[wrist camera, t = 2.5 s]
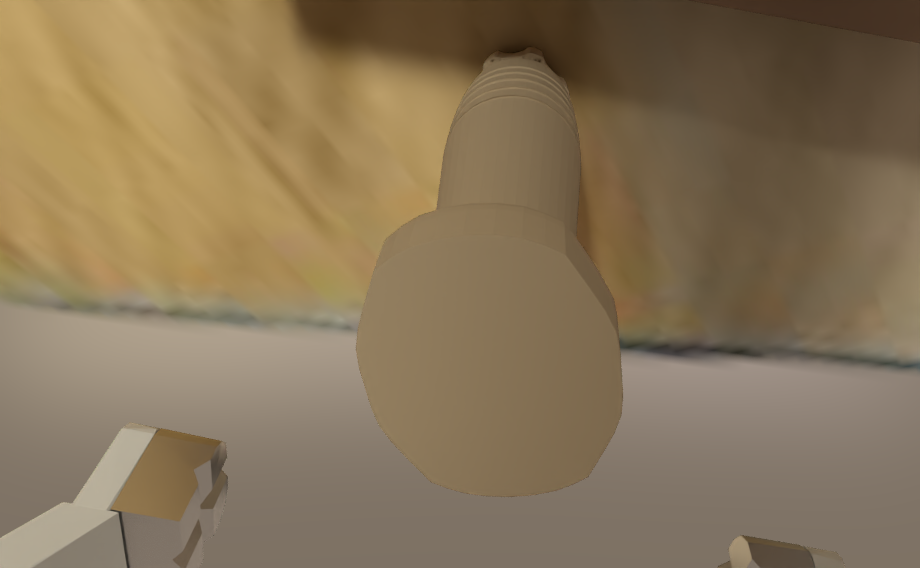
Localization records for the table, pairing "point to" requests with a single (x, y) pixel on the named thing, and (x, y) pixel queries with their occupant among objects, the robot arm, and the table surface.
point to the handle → (497, 303)
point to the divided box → (842, 14)
